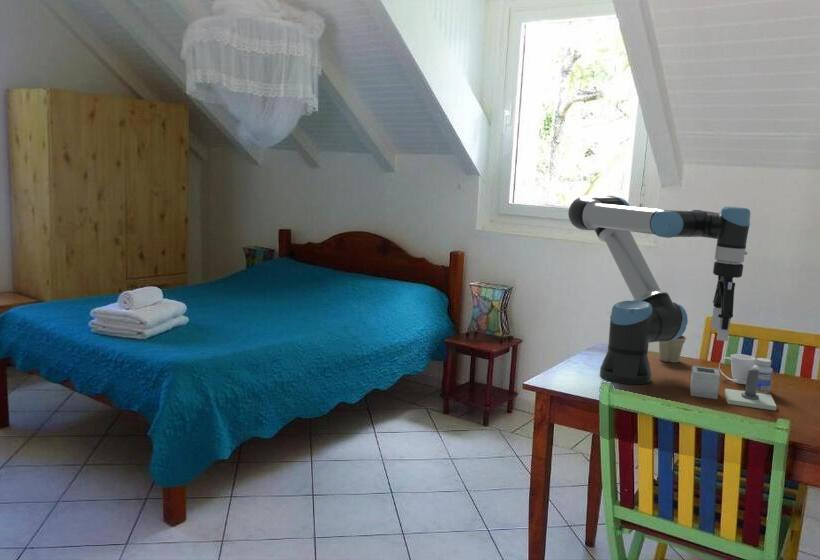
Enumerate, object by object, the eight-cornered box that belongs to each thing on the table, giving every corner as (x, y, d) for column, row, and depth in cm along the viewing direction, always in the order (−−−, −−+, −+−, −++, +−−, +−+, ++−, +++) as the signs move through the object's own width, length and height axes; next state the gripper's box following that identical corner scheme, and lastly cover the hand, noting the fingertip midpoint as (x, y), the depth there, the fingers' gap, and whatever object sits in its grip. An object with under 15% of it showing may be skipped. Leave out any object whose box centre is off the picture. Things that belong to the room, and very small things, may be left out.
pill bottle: (750, 387, 204) (754, 356, 203) (771, 391, 201) (775, 359, 200) (748, 391, 200) (752, 359, 198) (768, 395, 197) (772, 363, 195)
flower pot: (688, 360, 232) (690, 336, 230) (678, 365, 225) (680, 340, 223) (660, 355, 238) (663, 331, 236) (650, 359, 231) (652, 335, 229)
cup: (751, 387, 204) (755, 361, 203) (715, 380, 209) (718, 355, 208) (753, 381, 210) (756, 356, 209) (718, 375, 215) (721, 350, 214)
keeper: (727, 403, 188) (731, 371, 186) (724, 392, 198) (728, 362, 196) (776, 410, 184) (780, 378, 182) (770, 398, 194) (774, 367, 192)
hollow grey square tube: (690, 395, 194) (693, 371, 193) (689, 388, 200) (692, 365, 199) (717, 399, 191) (720, 375, 190) (715, 392, 198) (718, 369, 197)
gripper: (751, 269, 178) (740, 347, 182) (736, 257, 201) (726, 326, 205) (720, 266, 180) (710, 343, 184) (709, 255, 204) (700, 323, 207)
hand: (718, 334), depth 195 cm, fingers open, 13 cm apart
